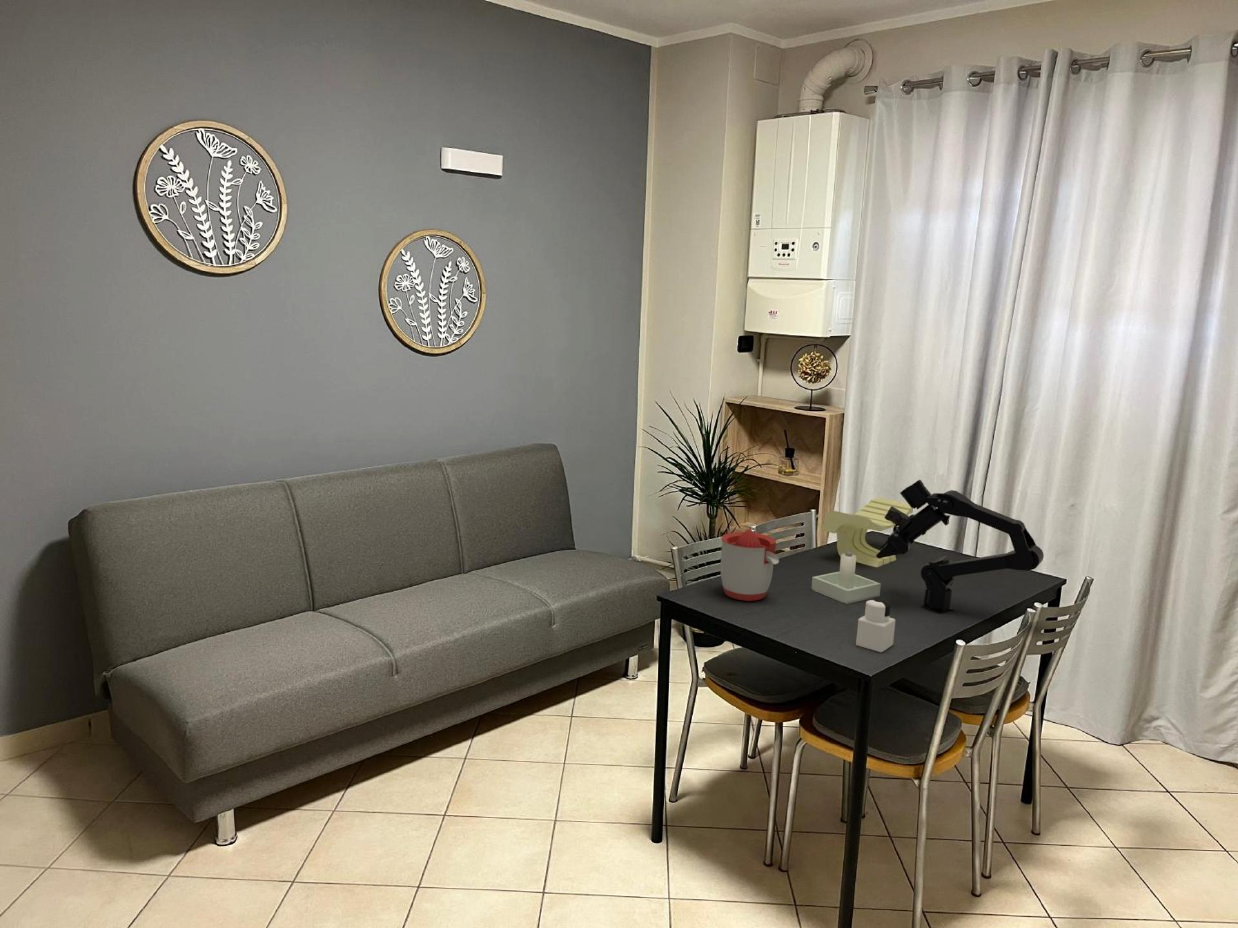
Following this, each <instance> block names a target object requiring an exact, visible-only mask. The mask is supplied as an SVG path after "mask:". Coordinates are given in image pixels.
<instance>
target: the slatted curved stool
mask: <svg viewBox="0 0 1238 928" xmlns="http://www.w3.org/2000/svg"><path fill="white" fill-rule="evenodd" d="M891 506H892V507H894V508H896V509H898V510H899V511H901V512H903V513H904V514H906V515H907V516H910V515H909V514H911V515H912V514H914V508H911V507H910V505H909V504H908V503H907V502H904V501H903V502H901V501H898V500H892V499H887V498H883V497H875V498H873V499H871V500H870V501H869V502H868V503H867V504H865V505H864V506H863V507H862V508H860V510H859V511H857V512H855V513H853V514H850V513H845V512H841V511H837V510H830V511H827V513H826V514H825V516H824V520H823V527H822V529H823V530H822V531H823V532H827V533H831V534H836V549H837V552H838V553H837V554H838V555H839V556H840V558H841V554H845V553H846V552H847V551H848V552H852V554H853V555H856V563H860V564H862V565H866V566H870V567H873V568H879V567H882V566H883V565H887V564H890V563H891V562H895V561H897V555H893V556H888V557H883V558H877V557H876V555H877V554H878V553H879V552H880V551H881V549H877V548H875V547H873V546H872V545H870V544H868V542H867V540H866V534H867V532H868V530H873V531H877V532H883V531H886V530H888V529H893V527H894V526H895V525H896V524H894V523H892V522H891V521H888V520H886V519H885V518H884V517H885V515H886V514H887V512H888V511H889V509H890V508H891Z"/></svg>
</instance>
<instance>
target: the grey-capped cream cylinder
mask: <svg viewBox="0 0 1238 928" xmlns="http://www.w3.org/2000/svg"><path fill="white" fill-rule="evenodd" d="M856 563H857V562H856V555H853V554H852V552H848V551H847V552H846V553H845V554H841V557H840V561H839V564H840V565H839V572H840V573H839V585H838V586H840V587H843V588H845V589H852V588H854V577H855V574H856V565H857V564H856Z"/></svg>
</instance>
